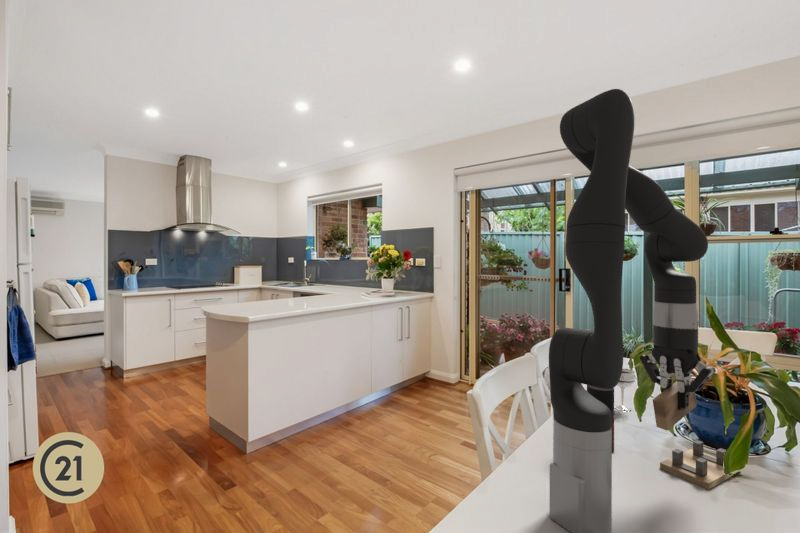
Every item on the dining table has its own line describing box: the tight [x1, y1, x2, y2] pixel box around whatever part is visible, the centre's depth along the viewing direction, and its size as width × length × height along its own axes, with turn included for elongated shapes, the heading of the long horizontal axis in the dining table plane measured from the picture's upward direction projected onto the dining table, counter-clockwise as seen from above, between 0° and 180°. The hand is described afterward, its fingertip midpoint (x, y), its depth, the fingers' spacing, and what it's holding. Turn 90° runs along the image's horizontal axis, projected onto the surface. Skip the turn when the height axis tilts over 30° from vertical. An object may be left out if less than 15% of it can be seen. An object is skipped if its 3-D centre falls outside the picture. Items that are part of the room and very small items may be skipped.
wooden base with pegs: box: [659, 439, 735, 490], centre depth 82 cm, size 14×9×4 cm, turn 118°
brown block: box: [652, 378, 698, 432], centre depth 77 cm, size 12×2×6 cm, turn 118°
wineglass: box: [615, 367, 636, 410], centre depth 118 cm, size 7×7×12 cm
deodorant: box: [586, 385, 615, 454], centre depth 91 cm, size 6×6×15 cm
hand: (675, 407), depth 77 cm, fingers closed on brown block, 1 cm apart
